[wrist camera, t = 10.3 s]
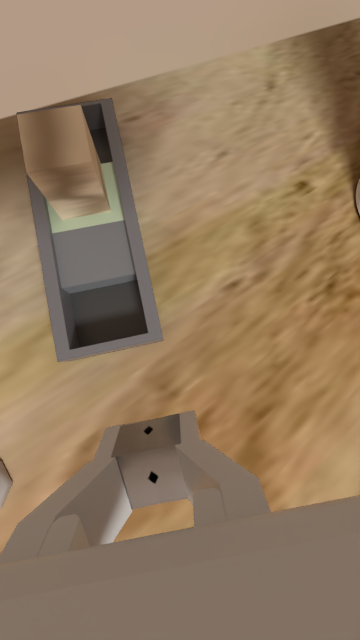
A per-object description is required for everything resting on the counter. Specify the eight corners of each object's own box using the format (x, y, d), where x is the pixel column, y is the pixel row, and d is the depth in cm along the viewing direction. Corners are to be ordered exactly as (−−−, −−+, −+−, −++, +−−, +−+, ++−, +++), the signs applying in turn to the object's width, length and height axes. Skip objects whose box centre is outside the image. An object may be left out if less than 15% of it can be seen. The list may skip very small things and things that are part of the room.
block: (102, 167, 36) (80, 104, 27) (110, 211, 35) (91, 161, 26) (54, 175, 36) (16, 114, 27) (62, 219, 35) (26, 172, 26)
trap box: (117, 123, 40) (111, 97, 36) (163, 340, 36) (163, 338, 32) (31, 137, 39) (16, 112, 35) (69, 361, 36) (57, 361, 32)
